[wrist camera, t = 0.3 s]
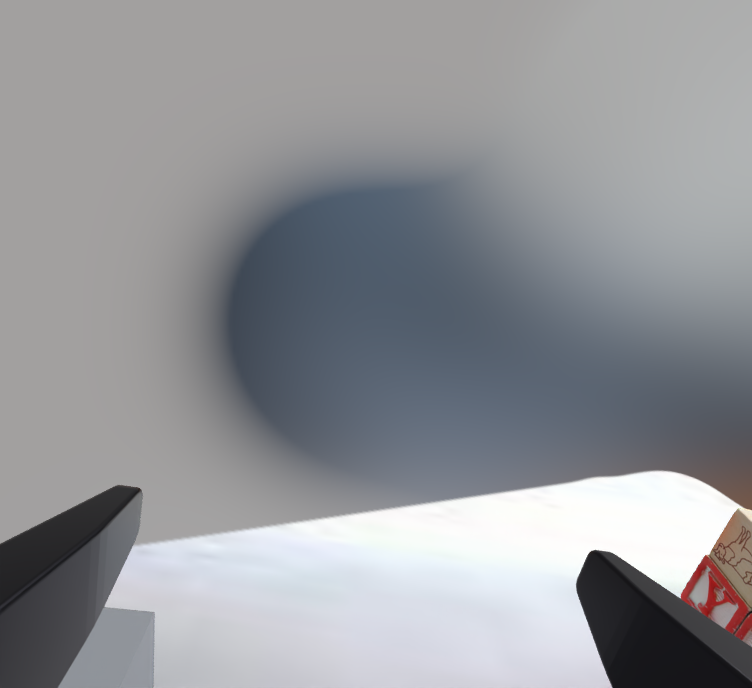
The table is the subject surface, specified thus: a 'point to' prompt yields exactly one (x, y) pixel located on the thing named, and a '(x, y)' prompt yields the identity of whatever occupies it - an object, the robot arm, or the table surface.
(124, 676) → the grey cube
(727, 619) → the stack of blocks
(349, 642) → the table surface
